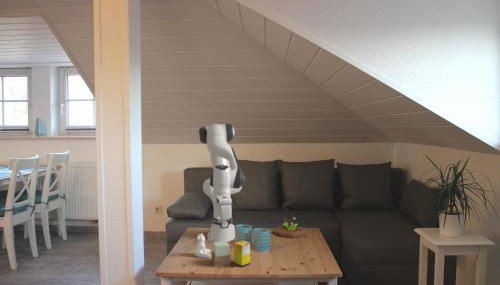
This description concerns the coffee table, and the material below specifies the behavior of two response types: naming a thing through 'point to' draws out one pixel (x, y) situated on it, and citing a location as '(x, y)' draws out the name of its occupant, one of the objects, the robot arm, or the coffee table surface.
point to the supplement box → (242, 253)
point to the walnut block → (221, 260)
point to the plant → (290, 230)
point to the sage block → (221, 248)
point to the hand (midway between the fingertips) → (221, 224)
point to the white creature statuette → (201, 248)
